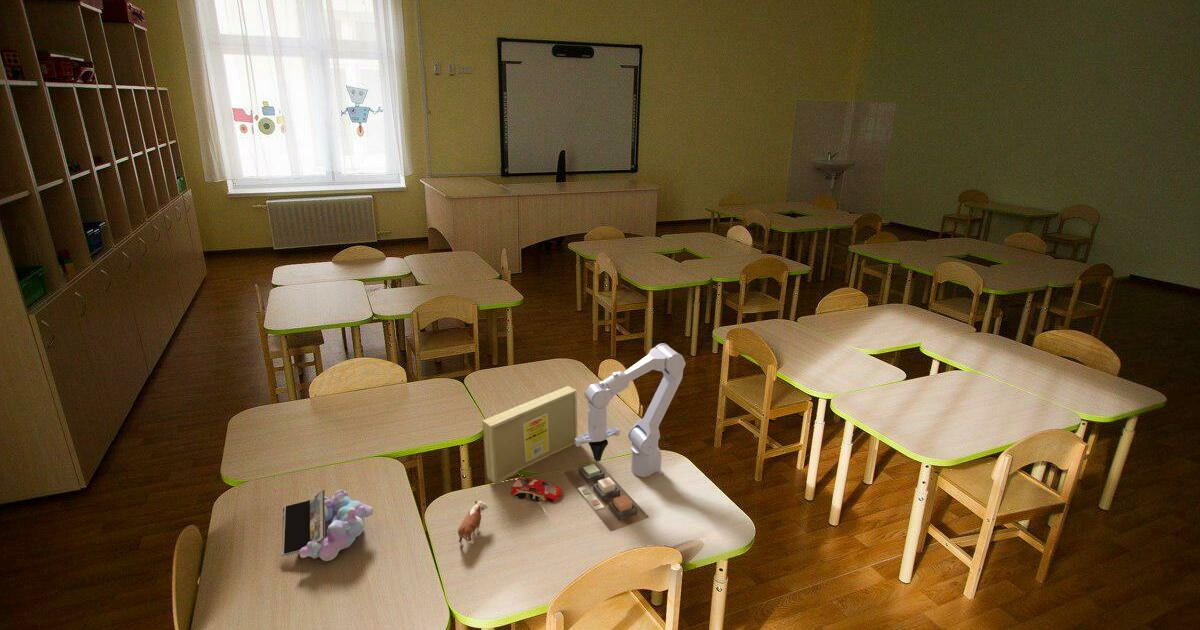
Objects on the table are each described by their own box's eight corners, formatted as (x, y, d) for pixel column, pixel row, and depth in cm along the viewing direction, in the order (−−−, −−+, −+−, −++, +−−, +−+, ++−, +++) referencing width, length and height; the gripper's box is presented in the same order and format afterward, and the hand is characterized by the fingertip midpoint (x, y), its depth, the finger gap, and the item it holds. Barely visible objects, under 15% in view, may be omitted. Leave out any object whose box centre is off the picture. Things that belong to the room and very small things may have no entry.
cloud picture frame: (392, 522, 178) (363, 466, 177) (330, 569, 160) (296, 507, 159) (351, 534, 189) (323, 481, 188) (288, 579, 170) (257, 521, 169)
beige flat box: (569, 439, 227) (568, 385, 219) (578, 444, 224) (577, 389, 216) (486, 478, 205) (482, 420, 197) (494, 485, 202) (490, 425, 194)
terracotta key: (625, 501, 191) (625, 494, 190) (632, 509, 187) (632, 502, 186) (613, 505, 189) (613, 498, 188) (620, 513, 185) (620, 506, 185)
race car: (566, 494, 198) (565, 481, 196) (558, 507, 192) (558, 494, 190) (517, 484, 202) (517, 471, 200) (509, 497, 196) (508, 484, 195)
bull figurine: (491, 521, 185) (489, 498, 182) (467, 552, 173) (465, 528, 171) (478, 518, 187) (476, 495, 184) (453, 548, 175) (451, 524, 172)
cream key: (609, 483, 199) (609, 477, 198) (615, 490, 195) (615, 484, 195) (597, 487, 197) (597, 480, 196) (603, 494, 194) (604, 487, 193)
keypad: (597, 464, 213) (597, 456, 212) (649, 519, 186) (649, 511, 185) (562, 474, 207) (562, 467, 206) (610, 534, 181) (610, 525, 180)
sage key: (594, 470, 207) (594, 463, 206) (599, 476, 204) (599, 470, 203) (583, 473, 206) (583, 467, 205) (588, 480, 202) (588, 473, 201)
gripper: (612, 410, 200) (611, 447, 205) (570, 421, 194) (570, 458, 199) (622, 420, 194) (622, 458, 199) (580, 432, 188) (580, 470, 193)
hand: (597, 459), depth 199 cm, fingers closed
